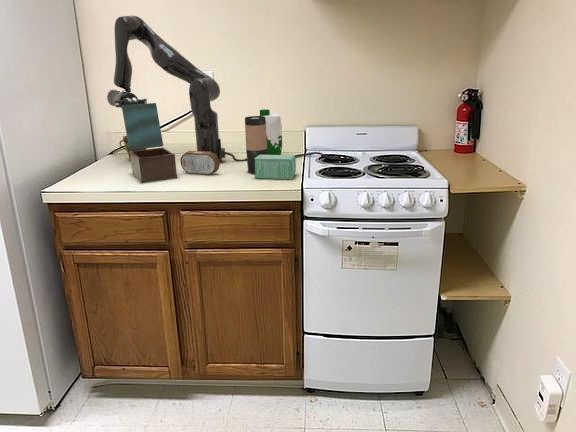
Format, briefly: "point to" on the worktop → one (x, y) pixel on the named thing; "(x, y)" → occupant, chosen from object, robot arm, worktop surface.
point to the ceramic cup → (128, 146)
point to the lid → (142, 126)
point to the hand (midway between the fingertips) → (135, 104)
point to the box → (275, 166)
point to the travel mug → (255, 139)
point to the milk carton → (273, 132)
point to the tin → (200, 162)
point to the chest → (153, 165)
